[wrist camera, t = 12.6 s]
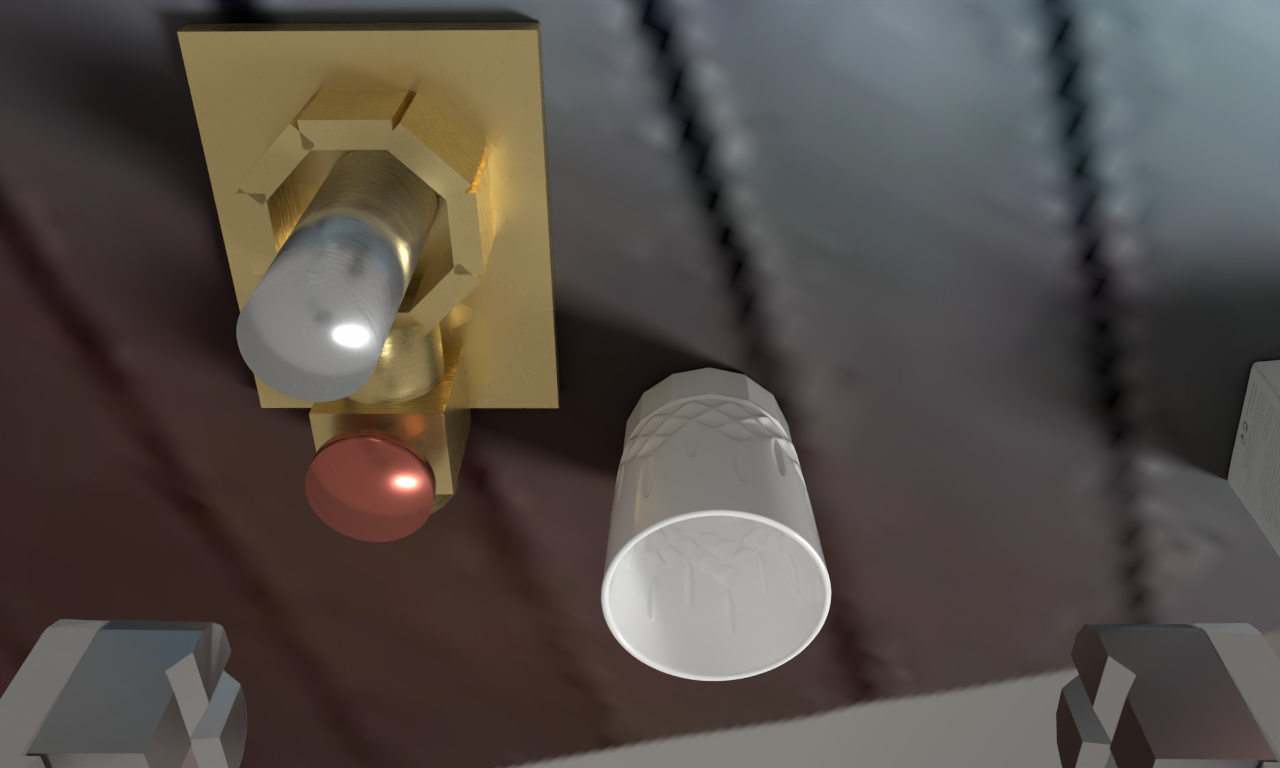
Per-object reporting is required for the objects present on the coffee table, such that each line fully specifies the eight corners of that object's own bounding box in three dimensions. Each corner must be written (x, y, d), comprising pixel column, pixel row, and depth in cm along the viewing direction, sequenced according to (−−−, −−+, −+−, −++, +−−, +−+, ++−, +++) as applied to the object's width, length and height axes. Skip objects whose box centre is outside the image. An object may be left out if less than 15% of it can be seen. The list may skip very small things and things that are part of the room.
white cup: (726, 318, 44) (741, 471, 36) (837, 448, 48) (875, 616, 39) (573, 420, 47) (553, 585, 39) (688, 536, 50) (693, 712, 42)
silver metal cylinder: (316, 147, 40) (222, 282, 31) (429, 146, 40) (365, 281, 31) (335, 250, 42) (252, 402, 34) (443, 249, 42) (386, 401, 33)
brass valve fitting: (187, 23, 39) (89, 97, 32) (539, 22, 38) (514, 96, 32) (279, 444, 48) (218, 568, 41) (563, 444, 48) (547, 570, 41)
